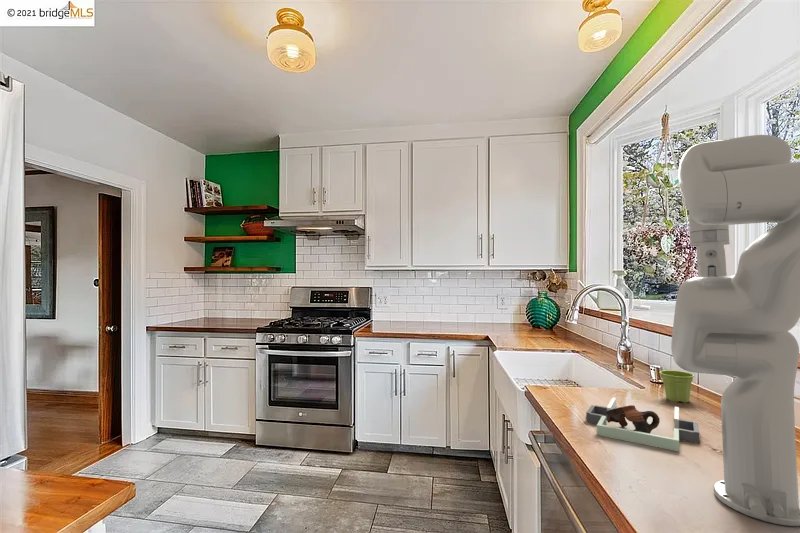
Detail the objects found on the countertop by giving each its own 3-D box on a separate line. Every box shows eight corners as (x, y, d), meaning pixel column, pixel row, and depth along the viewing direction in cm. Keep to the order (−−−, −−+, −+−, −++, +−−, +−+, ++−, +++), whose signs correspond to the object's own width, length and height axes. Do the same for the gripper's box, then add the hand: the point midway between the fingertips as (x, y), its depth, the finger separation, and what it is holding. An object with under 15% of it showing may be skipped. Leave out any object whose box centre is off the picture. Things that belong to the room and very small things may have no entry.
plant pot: (653, 398, 128) (652, 371, 128) (671, 394, 132) (670, 368, 132) (684, 406, 120) (683, 378, 120) (701, 401, 124) (700, 374, 124)
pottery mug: (620, 444, 94) (606, 409, 98) (612, 446, 102) (599, 414, 106) (672, 433, 92) (655, 398, 96) (660, 437, 100) (644, 405, 104)
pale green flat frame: (701, 456, 86) (700, 444, 86) (580, 431, 100) (579, 421, 100) (696, 418, 109) (696, 409, 109) (598, 403, 123) (598, 395, 123)
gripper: (732, 235, 86) (736, 317, 85) (726, 240, 98) (729, 312, 97) (690, 237, 90) (693, 315, 89) (689, 242, 102) (692, 311, 102)
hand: (712, 313), depth 93 cm, fingers closed
